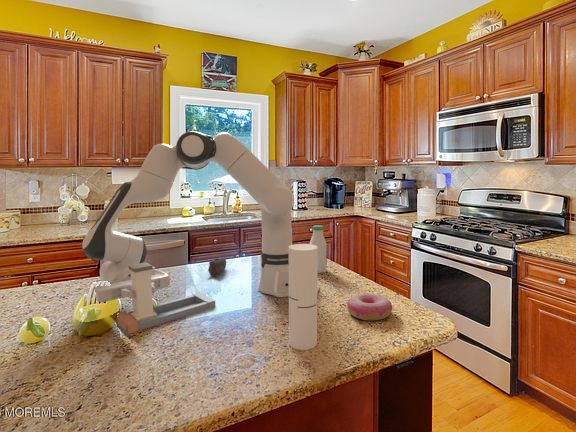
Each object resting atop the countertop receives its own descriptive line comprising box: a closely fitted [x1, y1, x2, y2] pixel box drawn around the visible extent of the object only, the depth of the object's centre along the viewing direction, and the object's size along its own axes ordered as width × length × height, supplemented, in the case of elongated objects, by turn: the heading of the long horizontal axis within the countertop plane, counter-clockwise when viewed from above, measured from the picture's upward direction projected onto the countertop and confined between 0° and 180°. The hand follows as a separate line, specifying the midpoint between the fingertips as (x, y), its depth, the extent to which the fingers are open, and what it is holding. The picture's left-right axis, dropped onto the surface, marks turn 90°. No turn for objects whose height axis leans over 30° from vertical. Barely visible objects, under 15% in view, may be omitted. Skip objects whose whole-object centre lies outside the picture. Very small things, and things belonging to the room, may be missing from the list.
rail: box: [115, 292, 216, 340], centre depth 101 cm, size 26×10×4 cm, turn 133°
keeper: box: [128, 261, 157, 322], centre depth 95 cm, size 6×6×16 cm
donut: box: [346, 293, 393, 321], centre depth 104 cm, size 14×13×5 cm
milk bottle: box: [309, 224, 328, 274], centre depth 148 cm, size 8×8×20 cm
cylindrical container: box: [288, 243, 318, 351], centre depth 85 cm, size 7×7×25 cm
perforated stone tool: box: [207, 256, 227, 277], centre depth 146 cm, size 15×5×7 cm, turn 169°
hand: (143, 292), depth 94 cm, fingers closed on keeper, 4 cm apart
